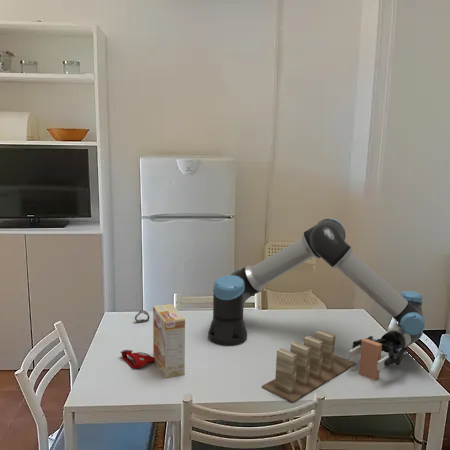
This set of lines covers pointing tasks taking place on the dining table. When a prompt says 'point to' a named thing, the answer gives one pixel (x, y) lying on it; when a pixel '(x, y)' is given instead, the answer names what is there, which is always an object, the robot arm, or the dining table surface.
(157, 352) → the coffeecake box
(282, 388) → the maple tile
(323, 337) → the maple tile
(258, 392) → the dining table surface
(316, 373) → the maple tile
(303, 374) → the maple tile
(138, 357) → the tracker holder
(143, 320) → the wristwatch
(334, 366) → the board
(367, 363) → the terracotta tile
